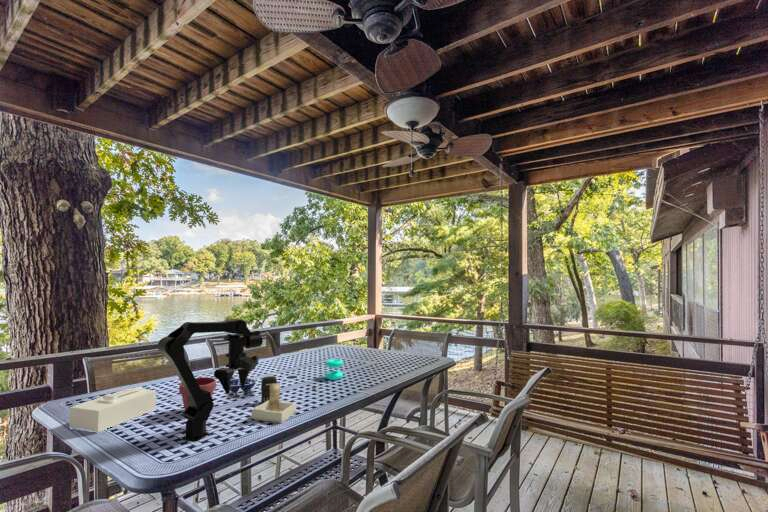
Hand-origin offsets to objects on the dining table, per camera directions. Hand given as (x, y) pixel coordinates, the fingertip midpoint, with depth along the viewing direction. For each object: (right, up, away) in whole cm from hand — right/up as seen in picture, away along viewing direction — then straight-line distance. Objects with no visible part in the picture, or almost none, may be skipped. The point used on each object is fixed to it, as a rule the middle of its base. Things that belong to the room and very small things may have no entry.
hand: (235, 390), depth 147 cm
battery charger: (+6, -15, +25) cm, 29 cm away
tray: (+13, -13, +7) cm, 20 cm away
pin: (+13, -12, +7) cm, 20 cm away
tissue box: (-51, -14, +4) cm, 53 cm away
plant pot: (-21, -14, +12) cm, 28 cm away
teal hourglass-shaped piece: (+31, -17, +64) cm, 73 cm away
